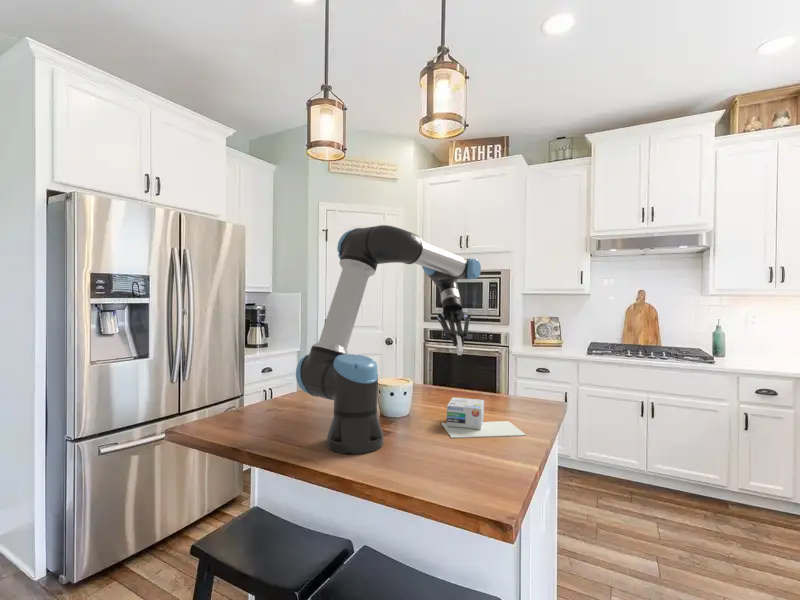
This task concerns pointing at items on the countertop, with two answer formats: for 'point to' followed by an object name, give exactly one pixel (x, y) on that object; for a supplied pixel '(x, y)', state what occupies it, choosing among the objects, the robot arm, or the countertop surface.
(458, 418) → the light bulb box
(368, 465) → the countertop surface
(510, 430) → the board
